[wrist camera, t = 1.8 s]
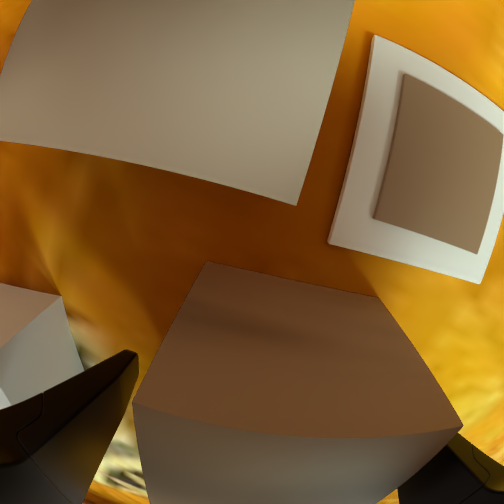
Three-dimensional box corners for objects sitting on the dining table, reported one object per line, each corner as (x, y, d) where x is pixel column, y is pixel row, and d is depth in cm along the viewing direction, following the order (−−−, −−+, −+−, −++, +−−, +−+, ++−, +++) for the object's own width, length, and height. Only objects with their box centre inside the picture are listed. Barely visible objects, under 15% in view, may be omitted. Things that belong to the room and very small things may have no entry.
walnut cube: (321, 410, 11) (339, 526, 5) (187, 388, 11) (151, 509, 5) (377, 296, 9) (463, 425, 3) (207, 259, 9) (131, 401, 3)
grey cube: (89, 382, 11) (45, 452, 7) (26, 359, 11) (-19, 410, 7) (62, 295, 10) (-14, 361, 5) (0, 281, 10) (-64, 325, 5)
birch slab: (281, 185, 8) (295, 205, 5) (66, 137, 8) (-15, 139, 4) (340, -15, 6) (372, -79, 2) (136, -37, 6) (94, -86, 2)
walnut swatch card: (475, 281, 9) (482, 286, 8) (327, 241, 9) (330, 245, 8) (512, 123, 7) (519, 122, 6) (372, 37, 6) (377, 32, 6)
